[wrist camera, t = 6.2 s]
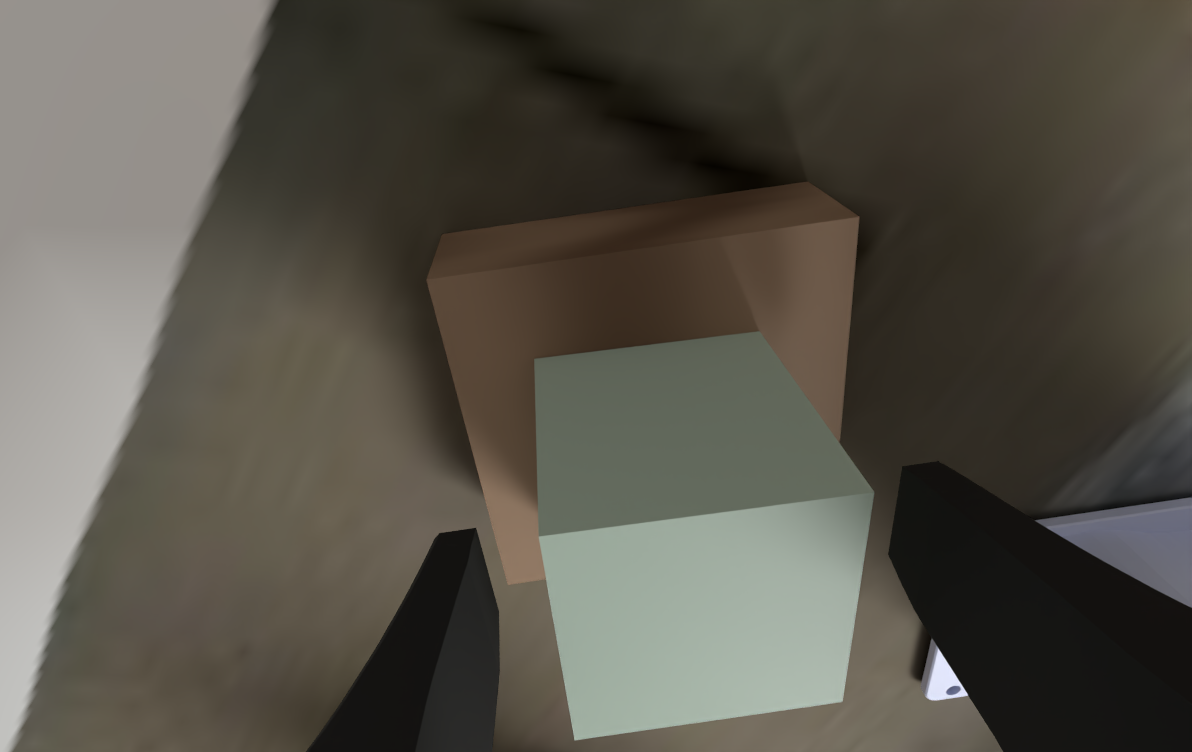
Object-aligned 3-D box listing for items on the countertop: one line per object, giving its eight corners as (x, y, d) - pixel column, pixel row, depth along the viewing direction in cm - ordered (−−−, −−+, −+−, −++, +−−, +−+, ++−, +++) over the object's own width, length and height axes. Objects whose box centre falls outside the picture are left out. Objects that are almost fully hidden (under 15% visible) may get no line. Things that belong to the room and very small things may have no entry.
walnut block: (801, 176, 15) (859, 216, 12) (789, 460, 19) (831, 535, 16) (443, 228, 15) (426, 280, 12) (510, 502, 19) (508, 584, 16)
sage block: (759, 331, 13) (874, 492, 9) (753, 505, 15) (842, 701, 11) (534, 358, 13) (538, 536, 9) (560, 530, 15) (574, 740, 11)
